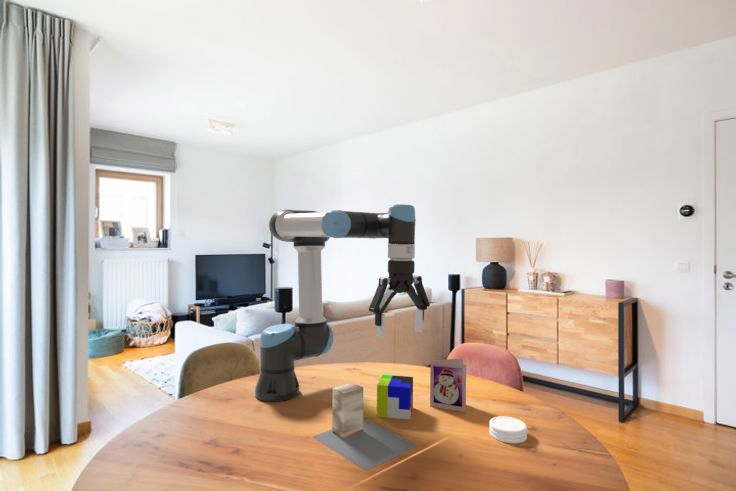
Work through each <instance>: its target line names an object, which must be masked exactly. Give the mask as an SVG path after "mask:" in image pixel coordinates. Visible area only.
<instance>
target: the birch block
mask: <svg viewBox="0 0 736 491" xmlns="http://www.w3.org/2000/svg"><path fill="white" fill-rule="evenodd" d="M331 389H332V405H331V406H332V407H331V408H332V409H331V410H332V412H331V415H332V416H331V417H332V418H331V419H332V420H331V421H332V423H331V425H332V428H331V430H332V433H334V434H336V435H338V436H339V437H341V438H343V439H344V438H347V437H349V436H352V435H354V434H357V433H359V432H362V431H363V418H364V387H363V386H361V385H358V384H356V383H354V382H350V383H346V384H342V385H338V386H335V387H332V388H331Z"/></svg>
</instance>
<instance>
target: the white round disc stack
mask: <svg viewBox="0 0 736 491" xmlns="http://www.w3.org/2000/svg"><path fill="white" fill-rule="evenodd" d="M488 423H489V426H488V427H489V432H488V433H489V435H490V436H491V437H492V438H493V439H495V440H497V441H499V442H502V443H505V444H521V443H524V442H526V441H527V439H528V426H527V424H526V423H525V422H524V421H522V420H520V419H518V418H515V417H512V416H504V415H502V416H501V415H500V416H494V417H492V418H490V419H489V422H488Z"/></svg>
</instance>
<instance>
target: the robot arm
mask: <svg viewBox="0 0 736 491" xmlns="http://www.w3.org/2000/svg"><path fill="white" fill-rule="evenodd" d="M416 222H417V219H416V209H415V206H414V205H411V204H403V203H402V204H400V203H399V204H396V203H395V204H390V205H389V206H388V211H387V212H365V211H363V212H362V211H349V210H340V209H335V210H328V211H315V210H302V209H301V210H300V209H299V210H297V209H282V210H279V211H276V212H275V213H274V214H273V215H272V216H271V217H270V219H269V222H268V227H269V228H268V229H269V231H270V233H271V235H272V236H273V237H274V238H275V239H276V240H279V241H282V242H285V243H286V242H287V243H293V248H294V249H295V250H296V252H297V269H298V271H297V272H298V273H297V275H298V278H297V280H298V284H297V285H298V317H296V319H295V320H294V324H295V325H294V324H292V323H282V324H280V323H279V324H274V325H271V326H268V327H266V328H265V329H263V330H262V332H261V333H260V340H259V341H260V342H259V346H260V347H259V348H260V351H259V352H260V358H259V359H260V369H259V370H260V372H259V376H258V379H257V382H256V386H255V389H254V396H255V398H256V399H258V400H260V401H264V402H283V401H288V400H291V399H294V398H295V397H297V396H298V395H299V394H300V383H299V381H298V377H297V375H296V371H295V362H296V361H300V360H306V359H309V358H317V357H319V356H323V355H326V354H327V353H328V352H329V351H330V350H331V349H332V346H333V343H334V331H333V330H332V326H331V325H330V324H329V323H327V320H328V319H327V318H325V317H324V315H323V286H322V285H323V284H322V282H323V281H322V251H323V250H324V249H325V247H326V242H328V241H329V240H330V238H333V239H346V238H347V239H350V238H351V239H354V238H355V239H388V241H387V258H388V259H389V260H388V261H387V272H388V277H387V278H386V277H382V276H380V277H379V278H378V285H377V287H376V290H375V292H374V296H373V298H372V300H371V303H370V305H369V307H368V311H369V312H371V313H373V314H374V324H375V326H376V338H379V339H382V340H383V339H386V314H384V312H385V311H386V309H387V307H388V306H389V304H390V302H392V299H393V298H394V296H396V295H397V294H401V293H407V295H408V296H409V298H410V299H411V301H412V302H413V304H414V305H415V307H416V308H414V318H413V319H414V322H413V325H414V326H413V329H414V332H417V333H419V334H420V333H423V321H424V319H425V311H426V310H427V309H428V307H430V305H431V303H430V301H429V298H428V295H427V292H426V290H425V287H424V284H423V278H422V276H421V275H414V273H415V264H416V263H415V260H413V259H415V254H416V253H415V250H416V245H415V243H416V242H415V241H416V240H415V239H416Z"/></svg>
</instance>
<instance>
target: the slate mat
mask: <svg viewBox="0 0 736 491" xmlns="http://www.w3.org/2000/svg"><path fill="white" fill-rule="evenodd" d="M312 438H314V439H315V440H317V441H319V442H321V443H322V444H323V445H325V446H326V447H328V448H329V449H331V450H333V451H334V452H335V453H338V454H339V455H341V456H342V457H344V458H345V459H346V460H348V461H350V462H351V463H353V464H355V465H356V466H357V467H359V468H361V469H362V470H364V471H365V472H368V471H370V470H372V469H374V468H376V467H377V466H380V465H382V464H384V463H386V462H388V461H390V460H392V459H394V458H395V457H397V456H400V455H402V454H403V453H406V452H408V451H410V450H412V449H414V448H416V447H418V446H419V445H418V444H417V443H414V442H412V441H410V440H408V439H406V438H403V437H402V436H400V435H398V434H396V433H394V432H392V431H390V430H388V429H386V428H384V427H382V426H380V425H378V424H376V423H374V422H371V421H370V420H367V419H365V418H364V417H363V431H362V432H359V433H357V434H354V435H352V436H349V437H347V438H344V439H343V438H341V437H339V436H338V435H336V434H334V433H332V429H329V430H326V431H324V432H322V433H319V434H315V435H313V436H312Z"/></svg>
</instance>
